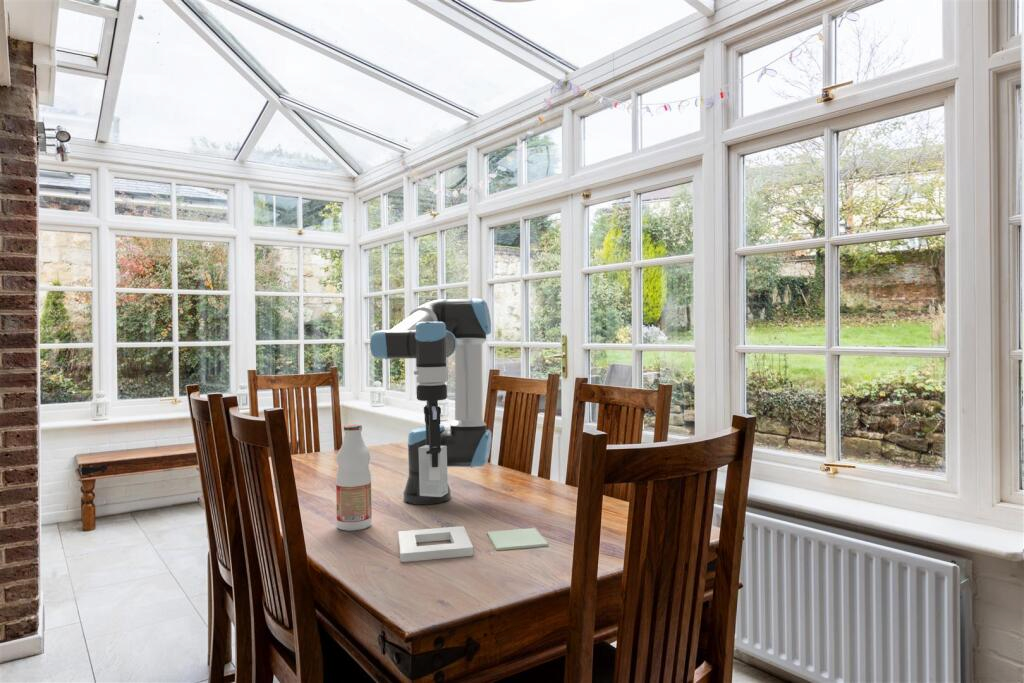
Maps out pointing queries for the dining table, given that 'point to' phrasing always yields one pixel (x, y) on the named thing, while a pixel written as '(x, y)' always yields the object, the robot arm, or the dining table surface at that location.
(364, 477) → the fruit juice
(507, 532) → the pad
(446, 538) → the white frame
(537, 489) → the dining table surface
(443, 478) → the skincare box
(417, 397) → the robot arm
